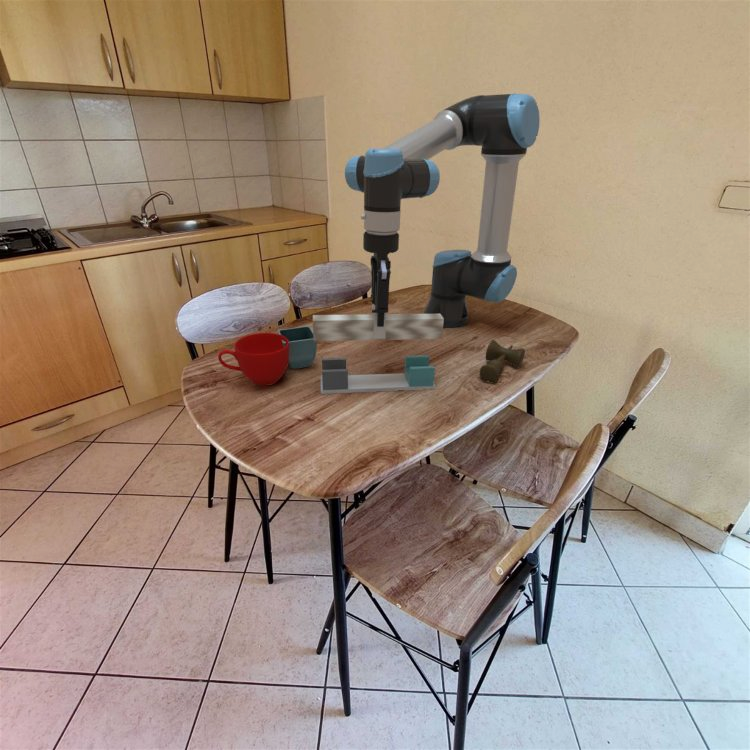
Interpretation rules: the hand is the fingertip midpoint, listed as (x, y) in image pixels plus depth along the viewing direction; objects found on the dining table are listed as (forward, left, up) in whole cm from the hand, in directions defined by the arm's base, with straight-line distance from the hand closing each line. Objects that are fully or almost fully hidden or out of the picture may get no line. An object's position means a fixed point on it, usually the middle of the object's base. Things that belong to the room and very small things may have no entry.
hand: (378, 334), depth 102 cm
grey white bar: (0, 0, -1) cm, 1 cm away
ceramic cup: (+30, -5, -14) cm, 33 cm away
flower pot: (+20, -13, -14) cm, 27 cm away
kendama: (-35, -7, -14) cm, 38 cm away
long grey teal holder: (0, 0, -14) cm, 14 cm away
